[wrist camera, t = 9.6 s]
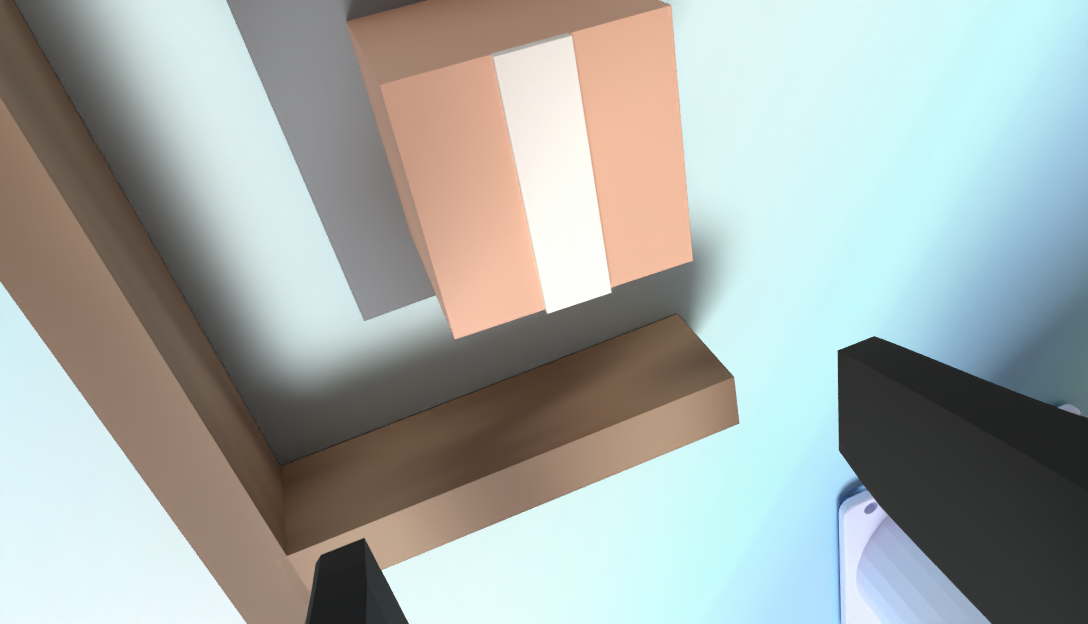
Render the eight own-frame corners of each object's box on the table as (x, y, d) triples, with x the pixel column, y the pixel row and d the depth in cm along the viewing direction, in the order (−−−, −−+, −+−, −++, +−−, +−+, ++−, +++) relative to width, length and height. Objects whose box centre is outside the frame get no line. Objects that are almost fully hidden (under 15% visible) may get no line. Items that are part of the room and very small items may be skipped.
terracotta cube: (602, 173, 18) (696, 264, 15) (410, 232, 18) (456, 344, 14) (571, -37, 16) (675, 7, 12) (345, 21, 15) (381, 87, 11)
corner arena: (586, -461, 13) (666, -527, 11) (705, 385, 23) (760, 451, 21) (-266, -260, 11) (-406, -283, 9) (267, 560, 21) (270, 656, 19)
